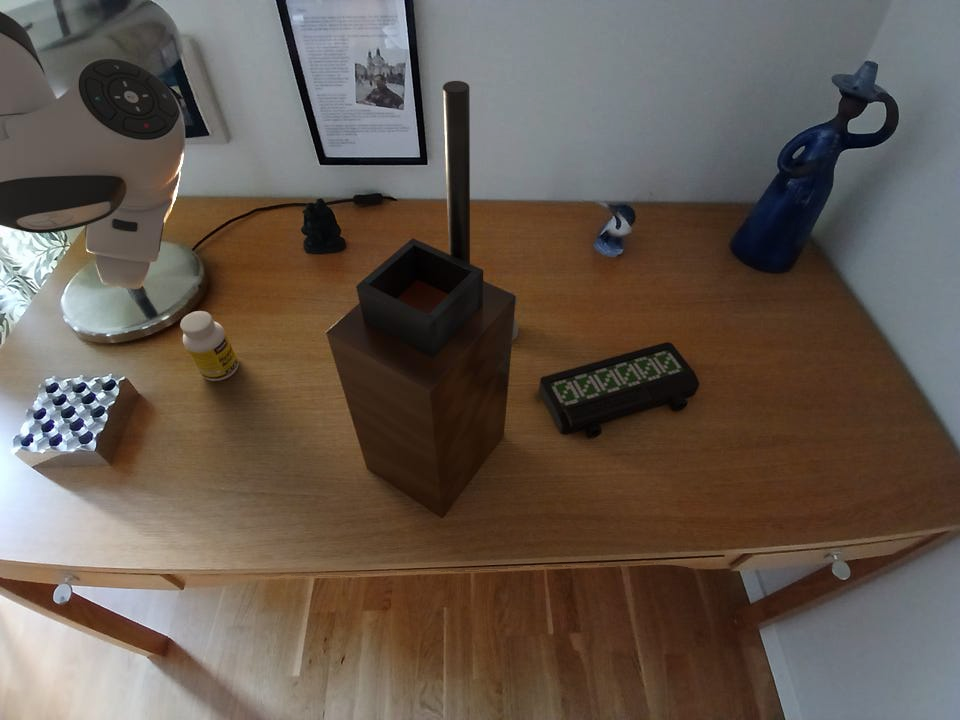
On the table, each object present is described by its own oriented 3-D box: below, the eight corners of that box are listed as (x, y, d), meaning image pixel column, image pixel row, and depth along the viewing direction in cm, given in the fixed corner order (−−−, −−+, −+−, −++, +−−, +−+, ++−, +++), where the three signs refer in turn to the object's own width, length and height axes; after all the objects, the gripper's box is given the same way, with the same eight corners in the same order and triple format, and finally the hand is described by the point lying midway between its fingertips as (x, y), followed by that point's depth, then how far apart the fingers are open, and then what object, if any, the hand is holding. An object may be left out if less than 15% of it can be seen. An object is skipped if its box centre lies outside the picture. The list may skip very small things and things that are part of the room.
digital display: (569, 433, 71) (538, 376, 77) (566, 446, 74) (536, 390, 80) (710, 389, 76) (670, 339, 82) (703, 403, 78) (665, 353, 84)
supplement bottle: (233, 382, 80) (209, 336, 72) (196, 381, 80) (167, 336, 72) (244, 353, 83) (221, 307, 75) (208, 353, 83) (181, 306, 75)
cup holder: (442, 518, 67) (411, 197, 32) (366, 468, 71) (266, 136, 36) (504, 435, 75) (532, 103, 40) (432, 395, 79) (401, 61, 44)
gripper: (104, 76, 58) (108, 138, 70) (83, 263, 55) (91, 295, 67) (172, 96, 62) (165, 151, 73) (156, 273, 59) (151, 302, 70)
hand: (130, 221), depth 70 cm, fingers open, 8 cm apart
